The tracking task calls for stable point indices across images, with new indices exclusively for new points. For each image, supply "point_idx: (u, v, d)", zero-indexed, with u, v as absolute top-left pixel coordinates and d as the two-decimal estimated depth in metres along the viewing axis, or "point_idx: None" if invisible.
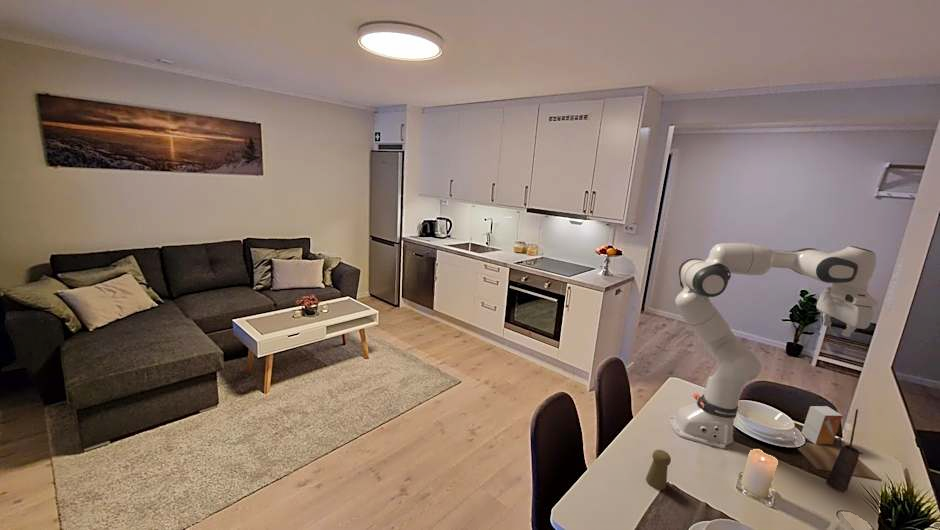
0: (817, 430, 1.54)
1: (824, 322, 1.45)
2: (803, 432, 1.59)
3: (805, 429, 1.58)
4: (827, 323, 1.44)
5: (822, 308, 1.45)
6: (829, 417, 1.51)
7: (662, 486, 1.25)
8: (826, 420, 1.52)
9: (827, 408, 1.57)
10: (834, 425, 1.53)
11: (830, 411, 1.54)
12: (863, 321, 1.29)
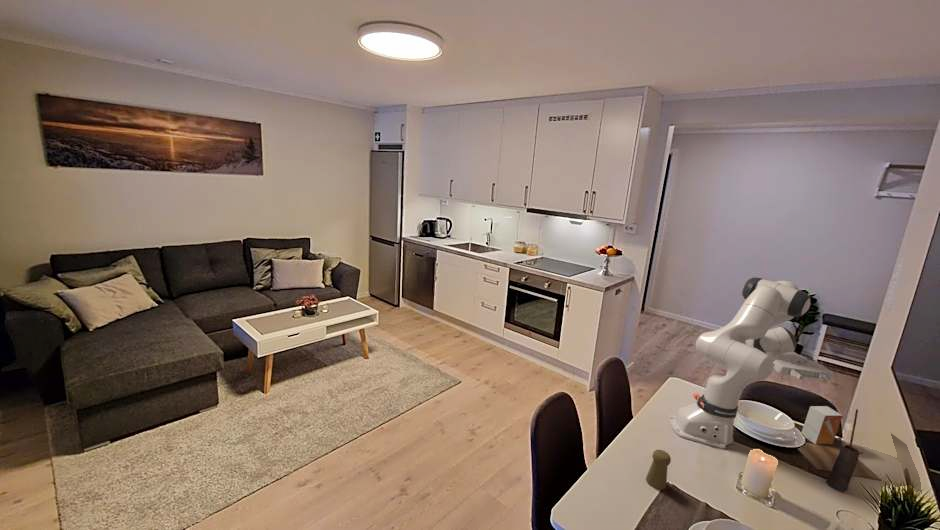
0: (817, 430, 1.54)
1: (800, 374, 1.65)
2: (803, 432, 1.59)
3: (805, 429, 1.58)
4: None
5: (788, 366, 1.70)
6: (829, 417, 1.51)
7: (662, 486, 1.25)
8: (826, 420, 1.52)
9: (827, 408, 1.57)
10: (835, 425, 1.53)
11: (830, 411, 1.54)
12: None
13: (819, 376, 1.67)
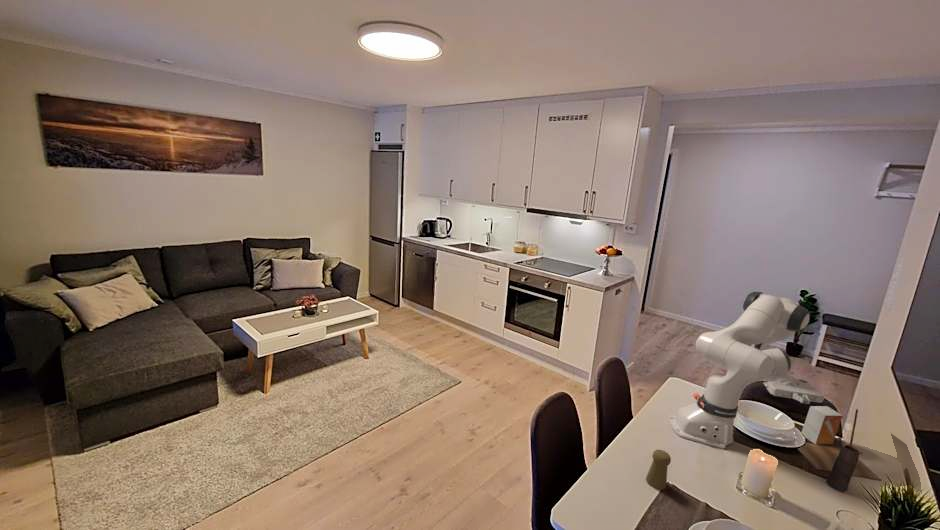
0: (817, 430, 1.54)
1: (802, 398, 1.67)
2: (803, 432, 1.59)
3: (805, 429, 1.58)
4: None
5: (781, 388, 1.72)
6: (829, 417, 1.51)
7: (662, 486, 1.25)
8: (826, 420, 1.52)
9: (827, 408, 1.57)
10: (835, 425, 1.53)
11: (830, 411, 1.54)
12: None
13: (802, 397, 1.70)
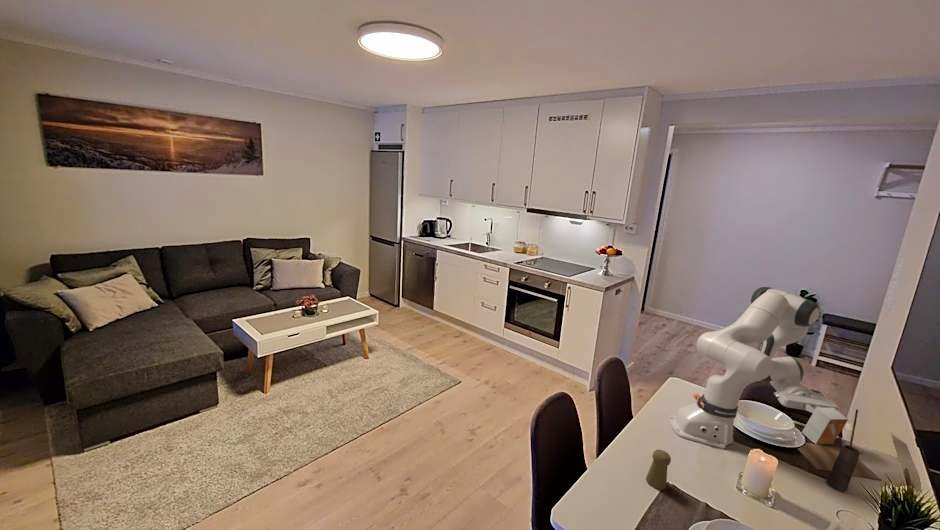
0: (819, 431, 1.53)
1: None
2: (804, 431, 1.58)
3: (807, 428, 1.57)
4: None
5: (793, 399, 1.64)
6: (835, 420, 1.50)
7: (662, 486, 1.25)
8: (831, 423, 1.50)
9: (833, 410, 1.54)
10: (838, 428, 1.52)
11: (836, 414, 1.52)
12: None
13: None
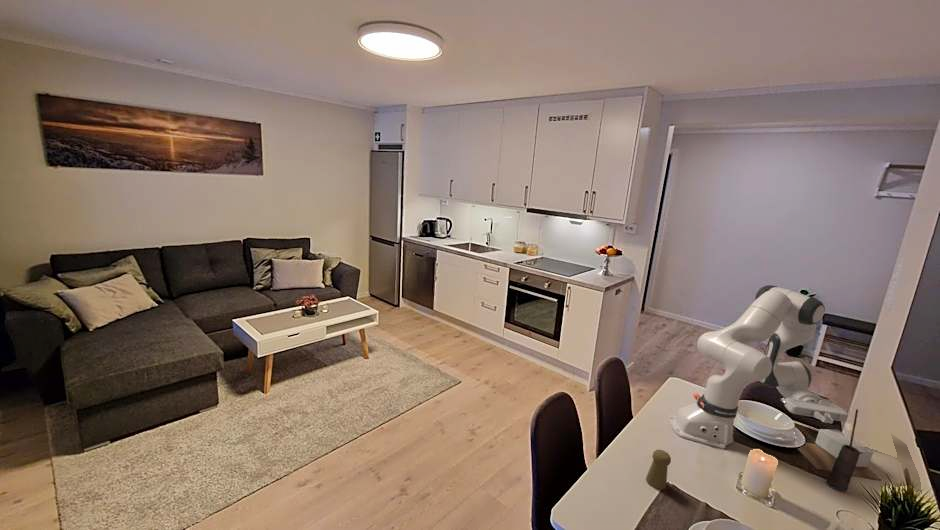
0: (829, 450, 1.49)
1: (825, 417, 1.54)
2: (822, 433, 1.52)
3: (826, 436, 1.50)
4: None
5: (801, 405, 1.59)
6: None
7: (662, 486, 1.25)
8: None
9: (868, 455, 1.42)
10: None
11: (863, 461, 1.42)
12: None
13: (824, 416, 1.57)
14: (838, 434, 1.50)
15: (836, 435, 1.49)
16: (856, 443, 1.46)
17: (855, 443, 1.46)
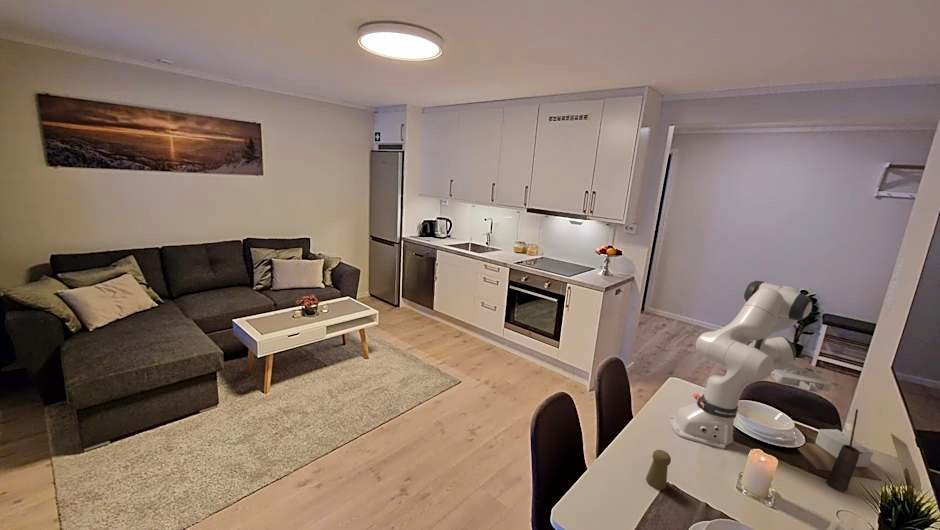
0: (829, 450, 1.49)
1: (809, 386, 1.63)
2: (822, 433, 1.52)
3: (826, 436, 1.50)
4: None
5: (788, 376, 1.68)
6: None
7: (662, 486, 1.25)
8: None
9: (868, 455, 1.42)
10: None
11: (863, 461, 1.42)
12: None
13: None
14: (838, 434, 1.50)
15: (836, 435, 1.49)
16: (856, 443, 1.46)
17: (855, 443, 1.46)
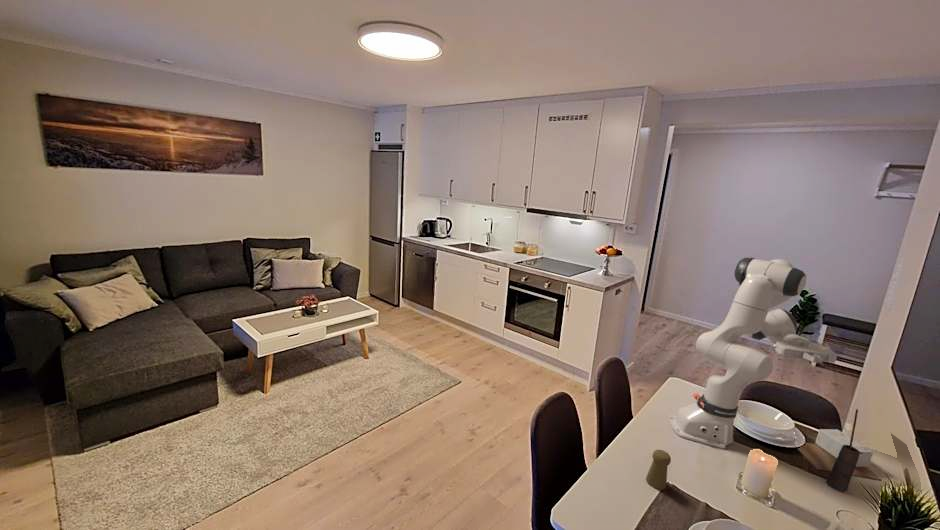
0: (829, 450, 1.49)
1: (814, 357, 1.55)
2: (822, 433, 1.52)
3: (826, 436, 1.50)
4: None
5: (791, 347, 1.60)
6: None
7: (662, 486, 1.25)
8: None
9: (868, 455, 1.42)
10: None
11: (863, 461, 1.42)
12: None
13: (813, 357, 1.58)
14: (838, 434, 1.50)
15: (836, 435, 1.49)
16: (856, 443, 1.46)
17: (855, 443, 1.46)
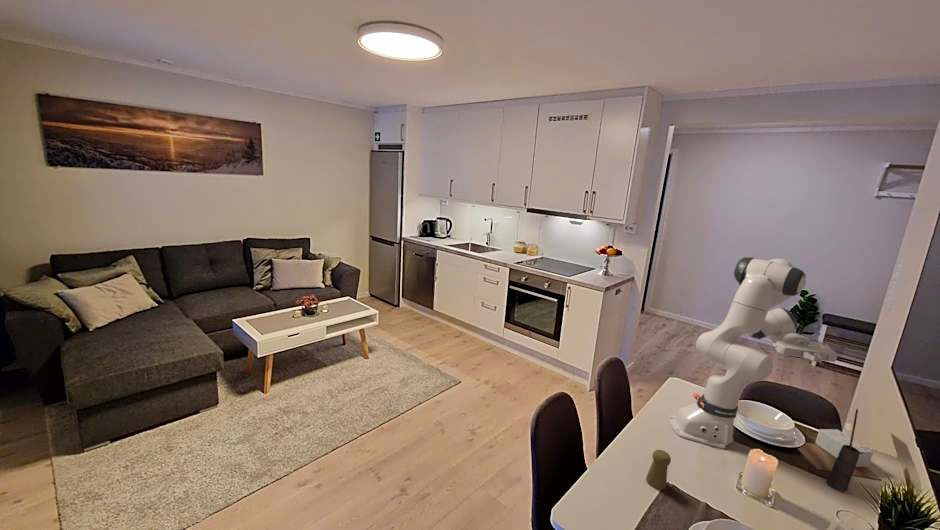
0: (829, 450, 1.49)
1: (814, 356, 1.55)
2: (822, 433, 1.52)
3: (826, 436, 1.50)
4: None
5: (791, 346, 1.60)
6: None
7: (662, 486, 1.25)
8: None
9: (868, 455, 1.42)
10: None
11: (863, 461, 1.42)
12: None
13: (813, 356, 1.58)
14: (838, 434, 1.50)
15: (836, 435, 1.49)
16: (856, 443, 1.46)
17: (855, 443, 1.46)
